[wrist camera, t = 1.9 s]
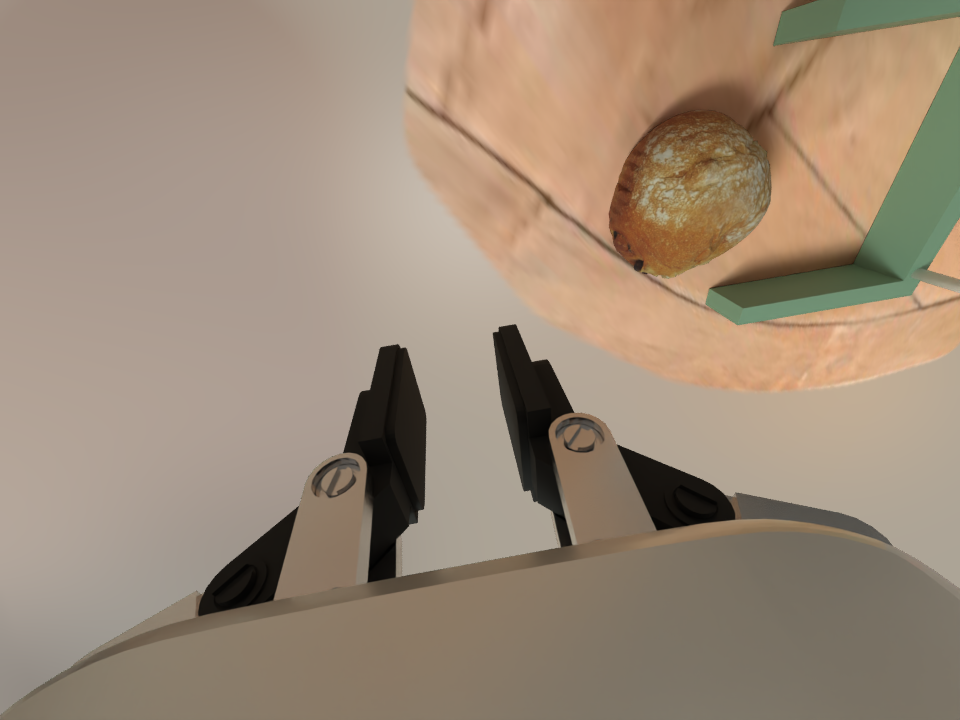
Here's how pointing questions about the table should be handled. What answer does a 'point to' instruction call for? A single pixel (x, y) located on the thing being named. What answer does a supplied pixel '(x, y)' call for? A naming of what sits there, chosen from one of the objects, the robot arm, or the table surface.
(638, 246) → the bread roll
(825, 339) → the table surface
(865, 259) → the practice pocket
